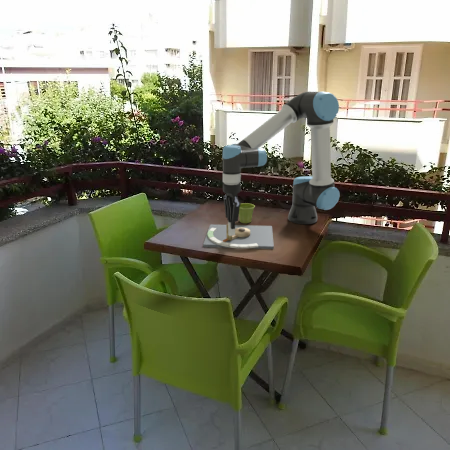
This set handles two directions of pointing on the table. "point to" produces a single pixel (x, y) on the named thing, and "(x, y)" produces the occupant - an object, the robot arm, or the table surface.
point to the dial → (237, 233)
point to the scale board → (258, 237)
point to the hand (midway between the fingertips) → (231, 234)
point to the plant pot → (246, 212)
